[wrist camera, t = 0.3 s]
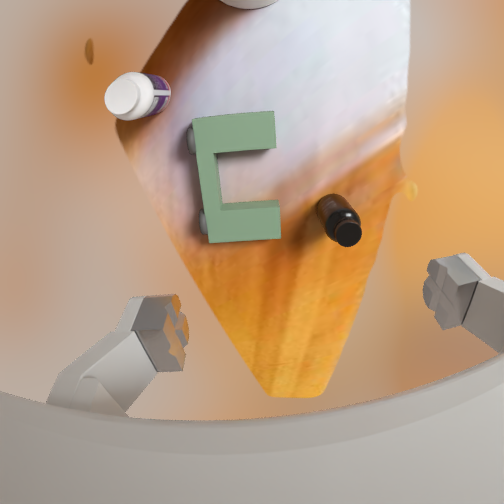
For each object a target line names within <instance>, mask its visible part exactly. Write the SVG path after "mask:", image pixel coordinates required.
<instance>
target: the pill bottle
mask: <svg viewBox="0 0 504 504" xmlns="http://www.w3.org/2000/svg"><path fill="white" fill-rule="evenodd" d="M170 96H171V90H170V86H169V84H168V83H167V81H166V80H165V79H163V78H162V77H160V76H157V75H151V74H145V73H139V72H128V73H125V74H123V75H121V76H119V77H118V78H117V79H116V80H114V82H113V83H111V85H110V86H109V87H108V88H107V90H106V93H105V98H104V100H105V105H106V107H107V109H108V110H109V111H110V112H111V113H112V114H113V115H114V116H116V117H117V118H119V119H122V120H134V119H138V118H142V117H147V116H152V115H155V114H158V113H160V112H161V111H162V110H164V109H165V107H166V106H167V105H168V103H169V100H170Z"/></svg>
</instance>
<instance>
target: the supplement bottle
mask: <svg viewBox="0 0 504 504" xmlns="http://www.w3.org/2000/svg"><path fill="white" fill-rule="evenodd" d="M317 216H318V218H319V220H320V222H321V224H322V226H323V228H324V230H325V232H326V234H327V235H328V237H329V238H330V239H331V240H333V241H335V242H338V243H339V244H340V245H341V246H344V247H351V246H353V245H355V244H356V243H357V242H358V241H359V240H360V238H361V235H362V231H361V227H360V226H361V221H360V218H359V215H358V214H357V213H356V211H355V210H354V209H353V208H352V206H351V205H350V204H349V203H348V202H347V201H346V199H345V198H344V197H342V196H341V195H338V194H329V195H326V196H325V197H323V198H322V199H321V200H320V201H319V203H318V205H317Z"/></svg>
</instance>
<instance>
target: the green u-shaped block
mask: <svg viewBox="0 0 504 504" xmlns="http://www.w3.org/2000/svg"><path fill="white" fill-rule="evenodd" d="M192 125H193V127H192V128H188V130H187V145H188V150H189V152H190V154H191V155H193V154H196V157H197V164H198V171H199V179H200V186H201V192H202V199H203V206H204V209H201V210H200V213H199V224H200V230H201V233H202V234H203V235H204V234H208V238H209V243H219V242H233V241H248V240H264V239H280V238H281V226H280V206H279V201H278V200H267V201H252V202H238V203H226V204H222V196H221V188H220V179H219V171H218V162H217V154H216V153H221V152H231V151H242V150H255V149H271V148H276V133H275V118H274V111H263V112H249V113H237V114H227V115H218V116H209V117H202V118H195V119H192Z"/></svg>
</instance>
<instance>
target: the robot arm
mask: <svg viewBox="0 0 504 504" xmlns="http://www.w3.org/2000/svg"><path fill="white" fill-rule="evenodd" d="M221 1H222V2H224V3H225V4H227V5H230V6H233V7H237V8H243V9H255V8H261V7H265V6H268V5H270V4H272V3H274V2H276V1H277V0H221ZM427 272H428V274H429V276H428V278H427V279H426V280H425V282H424V286H423V298H424V300H425V303H426V305H427V307H428V308H429V309H431V310H433V311H435V316H434V317H435V319H436V320H437V322H438V323H439V325H440V326H441V328H442V329H443V330H445V329H449V328H452V327H456V326H460V325H462V327H464V328H465V329H467V330H468V331H469V332H471V333H472V334H474V335H475V336H476V337H478V338H479V339H481V340H482V341H483V342H485V343H486V344H487V345H489V346H490V347H492V348H493V349H494V350H496V351H497V352H499V354H498V355H497V356H495V357H493V358H491V359H489V360H487V361H485V362H483V363H480V364H478V365H475V366H473V367H471V368H469V369H466V370H464V371H461V372H459V373H456V374H454V375H451V376H448V377H445V378H443V379H440V380H437V381H434V382H432V383H429V384H426V385H423V386H420V387H416V388H413V389H410V390H407V391H403V392H400V393H396V394H393V395H389V396H385V397H382V398H378V399H374V400H370V401H366V402H361V403H356V404H352V405H347V406H342V407H337V408H332V409H326V410H320V411H314V412H308V413H301V414H293V415H286V416H277V417H267V418H255V419H239V420H214V421H183V420H156V419H142V418H131V417H129V416H128V415H127V414H126V413H125V412H126V411H127V409H128V408H129V407H130V406H131V405H132V404H133V402H134V401H135V400H136V399H137V398H138V396H139V395H140V394H141V393H142V392H143V390H144V389H145V388H146V387H147V386H148V384H149V383H150V382H151V381H152V380H153V378H154V377H155V376H156V375H157V372H173V371H183V367H184V361H185V355H186V354H185V352H184V349H183V348H184V347H185V346H186V345H187V344H188V339H189V328H188V323H187V320H186V316H185V315H184V314H183V313H182V312H180V307H181V303H180V300H179V297H178V296H177V295H176V294H168V295H155V296H141V297H132V298H131V299H129V301H128V304H127V306H126V308H125V310H124V312H123V314H122V317H121V319H120V321H119V323H118V325H117V328H116V330H115V332H110V333H109V334H107V335H106V336H105V337H104V338H102V339H101V340H100V341H98V342H97V343H96V344H95V345H94V346H92V347H91V348H90V349H89V350H87V351H86V352H85V353H84V354H82V355H81V356H80V357H78V358H77V359H76V360H75V361H74V362H72V363H71V364H70V365H69V366H67V367H66V368H65V369H64V370H62V371H61V372H60V373H59V374H58V377H57V379H56V381H55V383H54V385H53V388H52V390H51V392H50V394H49V397H48V399H47V401H46V404H45V403H41V402H37V401H33V400H29V399H26V398H22V397H18V396H15V395H12V394H8V393H5V392H2V391H0V504H504V281H502V280H500V279H498V278H496V277H492V278H491V277H490V276H489V274H488V273H487V272H486V271H484V269H483V268H482V267H481V266H480V265H479V264H478V263H477V262H476V261H474V259H473V258H472V257H470V255H468V254H466V253H460V254H456V255H453V256H449V257H444V258H438V259H433V260H430V262H429V264H428V268H427Z"/></svg>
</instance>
